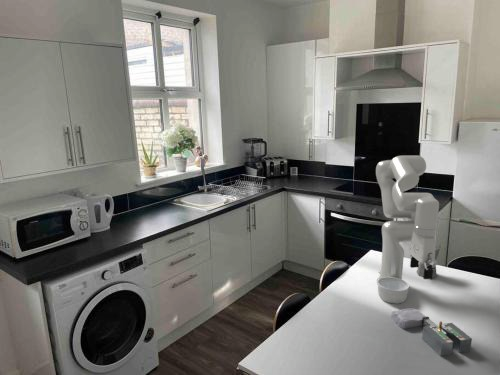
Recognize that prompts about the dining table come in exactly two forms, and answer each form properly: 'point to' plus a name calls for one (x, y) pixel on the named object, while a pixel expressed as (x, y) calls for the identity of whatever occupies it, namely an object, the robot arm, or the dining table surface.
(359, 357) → the dining table surface
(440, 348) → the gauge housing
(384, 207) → the robot arm
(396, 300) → the ramekin
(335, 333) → the dining table surface
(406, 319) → the stone block
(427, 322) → the bar with dark endcap
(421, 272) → the coffeepot
